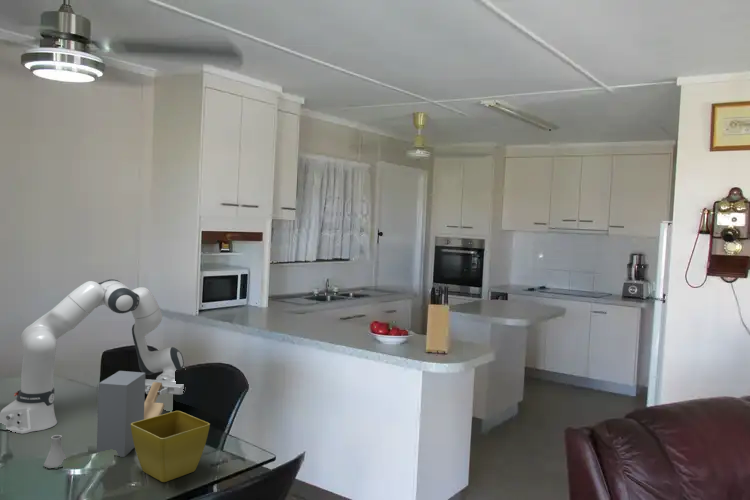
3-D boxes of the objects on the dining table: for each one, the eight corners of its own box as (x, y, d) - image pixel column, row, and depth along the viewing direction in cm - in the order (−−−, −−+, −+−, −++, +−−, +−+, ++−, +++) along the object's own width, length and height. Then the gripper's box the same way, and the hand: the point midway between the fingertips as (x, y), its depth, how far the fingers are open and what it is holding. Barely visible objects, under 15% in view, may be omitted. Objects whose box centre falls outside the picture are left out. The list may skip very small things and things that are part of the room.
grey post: (96, 454, 213) (98, 383, 211) (117, 437, 229) (119, 370, 227) (124, 457, 213) (126, 385, 211) (143, 439, 229) (145, 372, 227)
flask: (57, 471, 199) (58, 442, 199) (38, 468, 201) (39, 439, 200) (72, 462, 206) (73, 434, 206) (54, 459, 208) (54, 431, 207)
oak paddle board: (124, 429, 238) (123, 426, 236) (144, 384, 254) (143, 381, 253) (154, 431, 237) (153, 428, 236) (172, 386, 254) (171, 383, 253)
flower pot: (127, 471, 203) (129, 422, 201) (176, 454, 218) (178, 409, 217) (160, 490, 191) (162, 439, 190) (209, 471, 206) (211, 423, 205)
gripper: (142, 374, 263) (129, 383, 249) (189, 377, 263) (177, 387, 249) (142, 388, 264) (128, 398, 250) (188, 391, 263) (177, 401, 249)
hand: (153, 392), depth 249 cm, fingers closed on oak paddle board, 3 cm apart
